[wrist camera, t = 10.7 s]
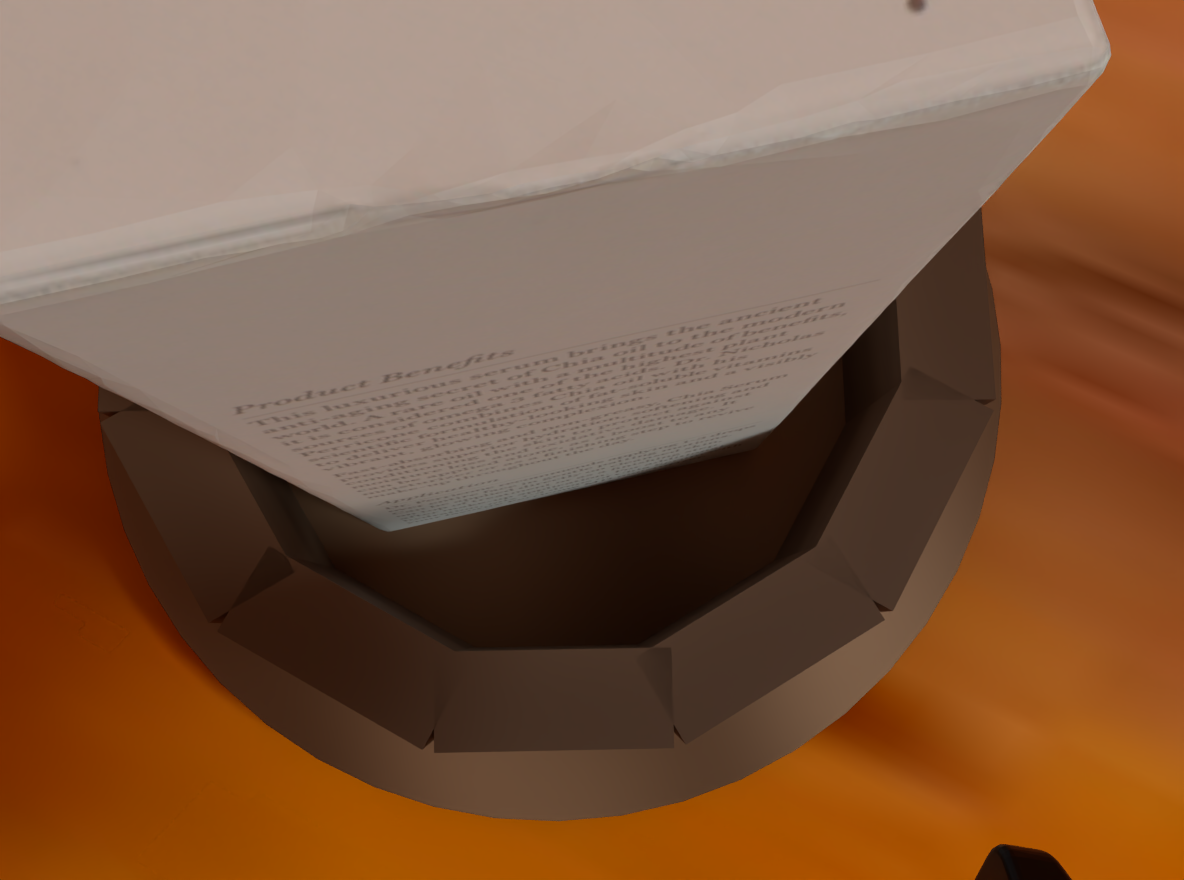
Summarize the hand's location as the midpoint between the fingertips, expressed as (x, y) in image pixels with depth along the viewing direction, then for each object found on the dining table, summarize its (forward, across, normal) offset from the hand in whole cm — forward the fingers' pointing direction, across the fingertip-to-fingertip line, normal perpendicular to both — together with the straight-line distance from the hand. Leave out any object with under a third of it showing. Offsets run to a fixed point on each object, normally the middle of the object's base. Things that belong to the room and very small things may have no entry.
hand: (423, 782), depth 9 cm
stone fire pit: (+10, 0, +2) cm, 10 cm away
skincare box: (+9, 0, +2) cm, 10 cm away
